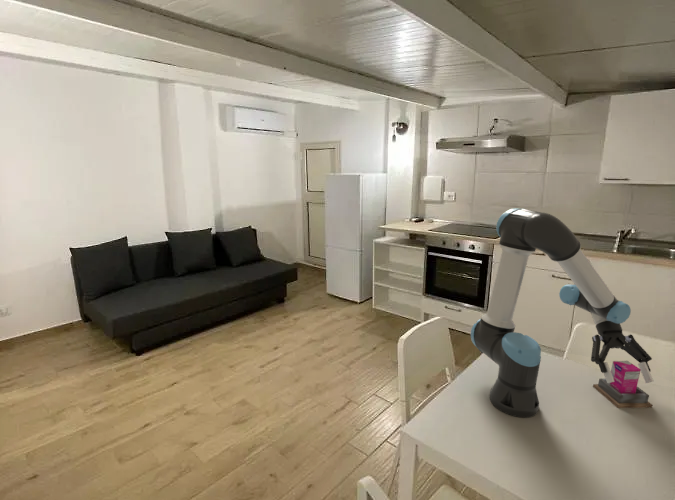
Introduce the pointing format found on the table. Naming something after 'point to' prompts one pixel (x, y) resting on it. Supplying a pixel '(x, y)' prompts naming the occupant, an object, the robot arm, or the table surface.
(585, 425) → the table surface
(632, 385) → the supplement box
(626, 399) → the socket
